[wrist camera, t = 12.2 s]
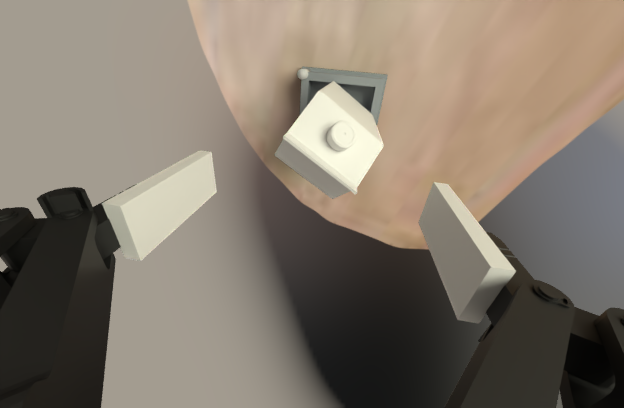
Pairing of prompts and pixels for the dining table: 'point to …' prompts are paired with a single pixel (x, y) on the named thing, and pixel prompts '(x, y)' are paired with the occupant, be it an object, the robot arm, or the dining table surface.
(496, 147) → the dining table surface
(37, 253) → the robot arm
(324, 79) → the seat block
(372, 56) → the dining table surface
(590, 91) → the dining table surface
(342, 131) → the milk carton
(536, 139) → the dining table surface
